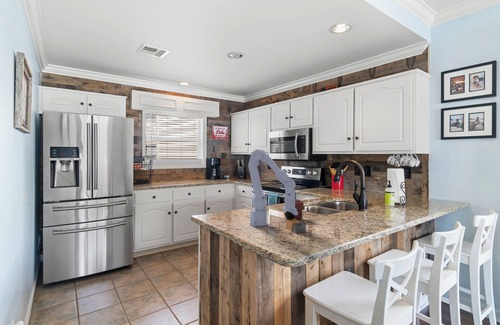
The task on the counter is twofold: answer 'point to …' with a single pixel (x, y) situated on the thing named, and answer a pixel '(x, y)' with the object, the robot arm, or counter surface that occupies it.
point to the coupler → (299, 227)
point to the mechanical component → (299, 209)
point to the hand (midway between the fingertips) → (289, 225)
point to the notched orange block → (291, 224)
